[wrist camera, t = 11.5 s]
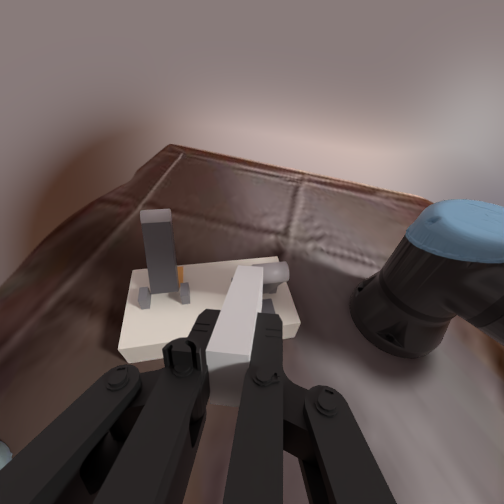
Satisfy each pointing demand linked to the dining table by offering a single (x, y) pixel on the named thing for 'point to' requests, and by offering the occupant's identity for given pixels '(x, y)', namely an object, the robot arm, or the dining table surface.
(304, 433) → the robot arm
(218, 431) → the dining table surface
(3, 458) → the drinking glass
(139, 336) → the console
